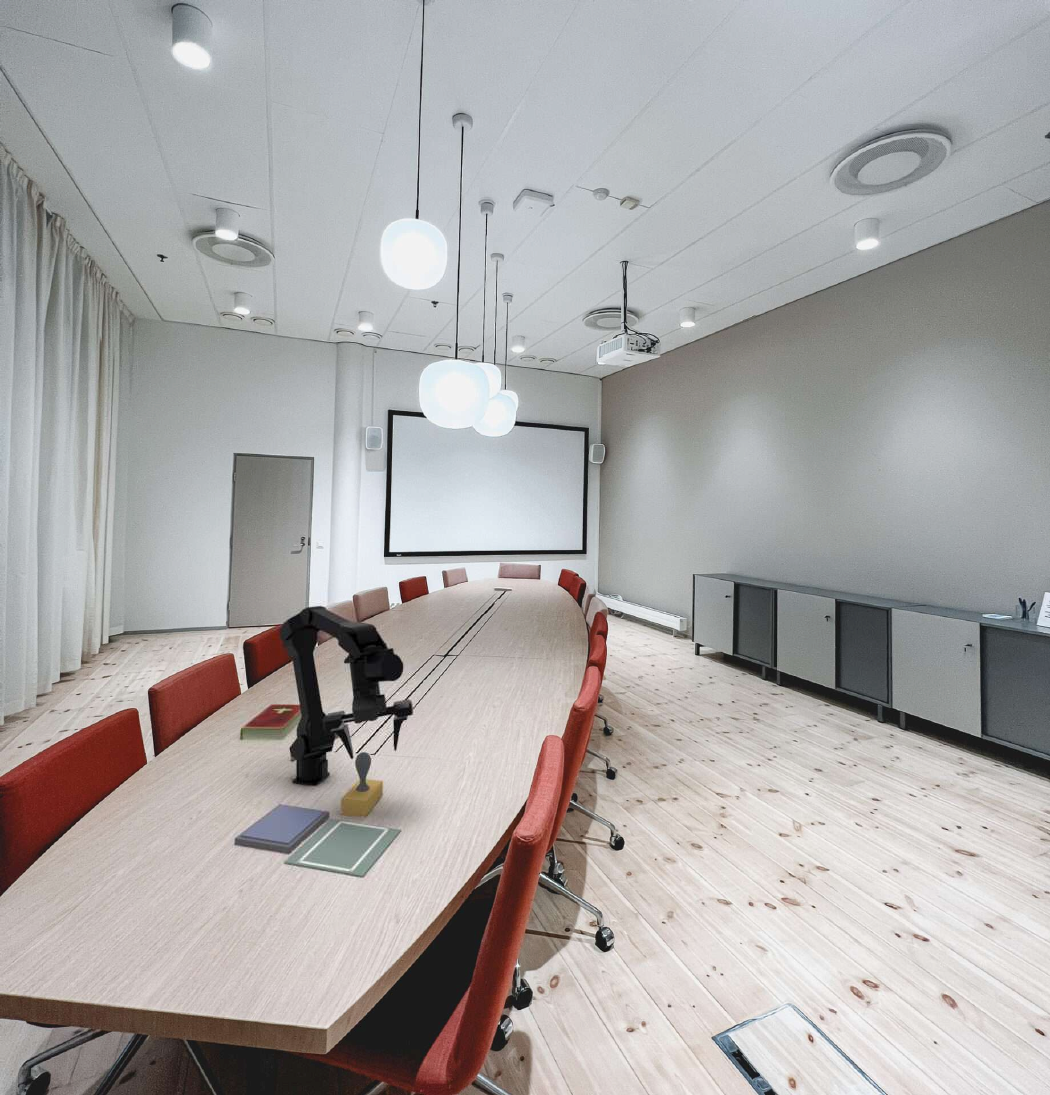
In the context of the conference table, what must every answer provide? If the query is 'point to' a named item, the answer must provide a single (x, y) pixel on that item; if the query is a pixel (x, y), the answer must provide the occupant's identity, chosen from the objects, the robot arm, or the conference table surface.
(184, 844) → the conference table surface
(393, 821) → the conference table surface
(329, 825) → the marking board
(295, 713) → the hardcover book
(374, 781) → the rubber stamp
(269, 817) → the ink pad
